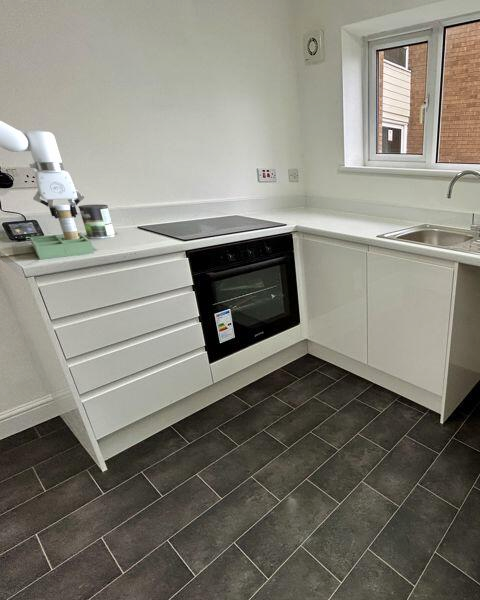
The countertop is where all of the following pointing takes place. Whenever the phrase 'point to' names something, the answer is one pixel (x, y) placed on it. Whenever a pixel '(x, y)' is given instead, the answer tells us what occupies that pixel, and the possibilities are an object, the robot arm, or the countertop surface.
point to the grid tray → (60, 246)
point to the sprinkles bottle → (66, 221)
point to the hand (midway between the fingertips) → (65, 216)
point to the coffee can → (97, 221)
